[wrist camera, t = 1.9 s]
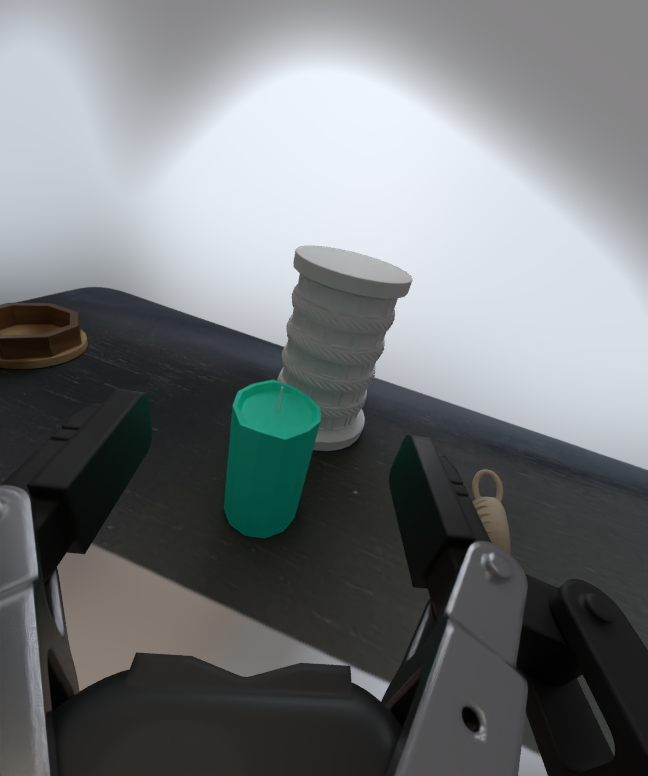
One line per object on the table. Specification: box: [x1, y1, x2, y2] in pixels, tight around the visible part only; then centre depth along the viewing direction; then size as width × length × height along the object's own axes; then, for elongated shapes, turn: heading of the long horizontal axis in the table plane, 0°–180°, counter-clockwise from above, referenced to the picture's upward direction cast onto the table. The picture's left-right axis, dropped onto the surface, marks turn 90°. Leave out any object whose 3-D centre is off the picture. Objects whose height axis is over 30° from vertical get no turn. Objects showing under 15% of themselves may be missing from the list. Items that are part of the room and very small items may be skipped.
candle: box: [224, 380, 321, 538], centre depth 25 cm, size 6×6×12 cm
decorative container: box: [278, 246, 412, 451], centre depth 35 cm, size 12×12×18 cm
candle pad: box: [0, 303, 88, 369], centre depth 38 cm, size 10×10×4 cm
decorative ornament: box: [472, 469, 510, 554], centre depth 28 cm, size 4×8×5 cm, turn 159°
